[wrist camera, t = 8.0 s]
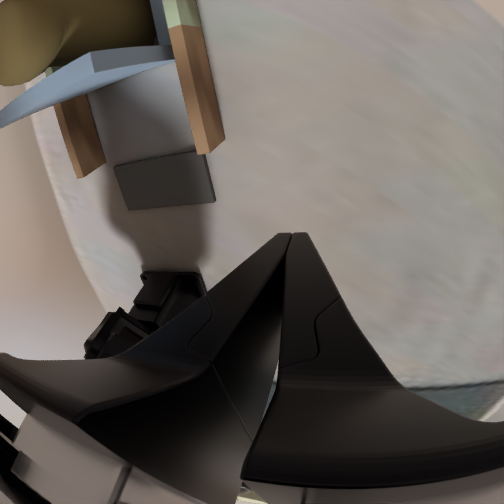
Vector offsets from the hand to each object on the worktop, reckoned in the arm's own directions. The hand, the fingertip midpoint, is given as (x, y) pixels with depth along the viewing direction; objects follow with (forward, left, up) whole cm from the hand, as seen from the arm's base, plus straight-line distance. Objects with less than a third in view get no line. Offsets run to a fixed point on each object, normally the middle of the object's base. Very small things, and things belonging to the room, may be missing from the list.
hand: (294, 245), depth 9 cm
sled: (+10, +12, -12) cm, 19 cm away
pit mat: (-2, +12, -12) cm, 17 cm away
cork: (+11, +12, -12) cm, 20 cm away
